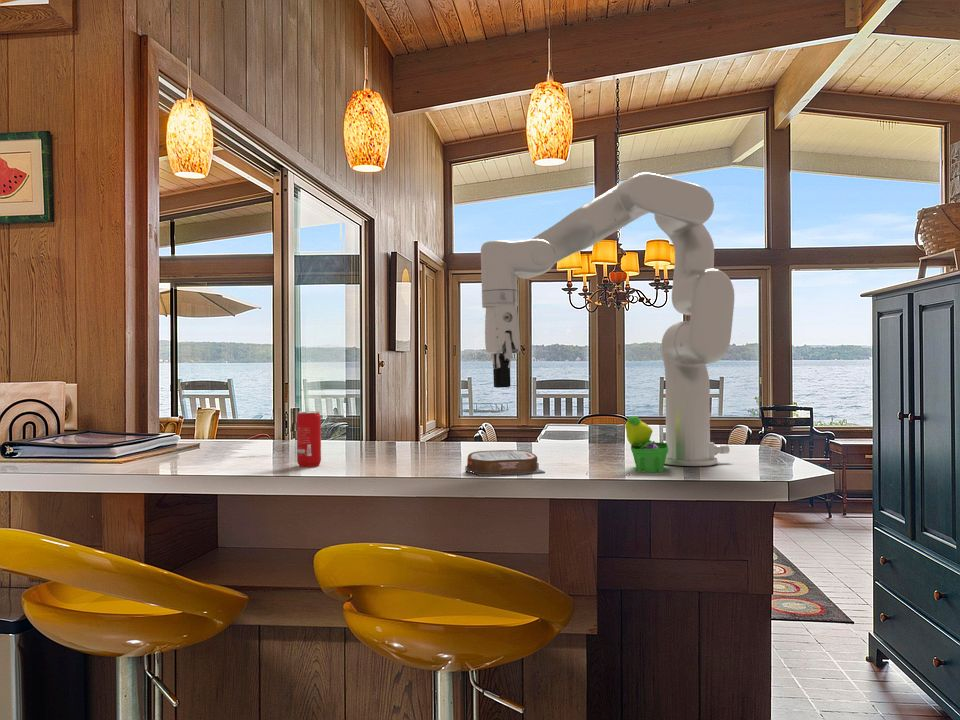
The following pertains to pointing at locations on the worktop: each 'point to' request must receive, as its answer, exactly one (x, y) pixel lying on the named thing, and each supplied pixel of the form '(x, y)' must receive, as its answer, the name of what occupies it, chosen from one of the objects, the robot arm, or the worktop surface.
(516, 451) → the tin
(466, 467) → the mat
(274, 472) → the worktop surface
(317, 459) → the beverage can
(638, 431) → the fruit basket
